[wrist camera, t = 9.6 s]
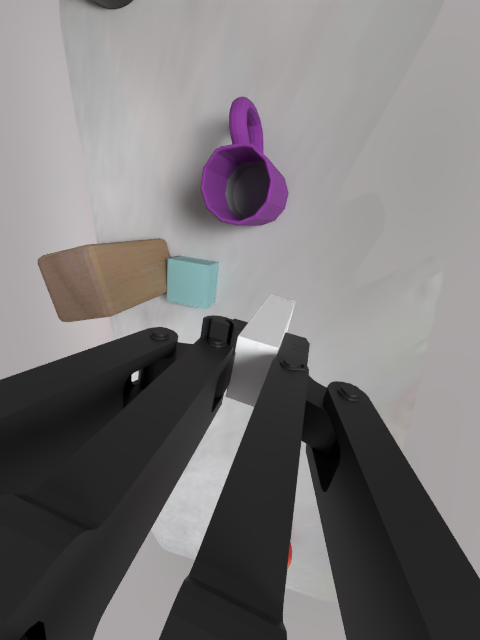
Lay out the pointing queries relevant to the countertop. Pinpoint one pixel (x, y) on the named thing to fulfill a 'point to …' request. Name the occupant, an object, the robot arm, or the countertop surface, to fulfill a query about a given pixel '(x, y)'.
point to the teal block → (192, 281)
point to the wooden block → (105, 277)
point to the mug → (243, 173)
